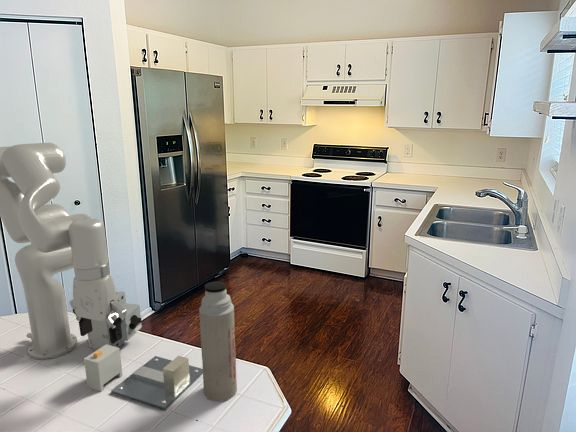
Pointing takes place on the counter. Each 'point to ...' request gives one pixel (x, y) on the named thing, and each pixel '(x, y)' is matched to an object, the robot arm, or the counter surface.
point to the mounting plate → (159, 382)
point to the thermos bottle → (218, 343)
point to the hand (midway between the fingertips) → (101, 337)
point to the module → (102, 366)
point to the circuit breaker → (128, 326)
